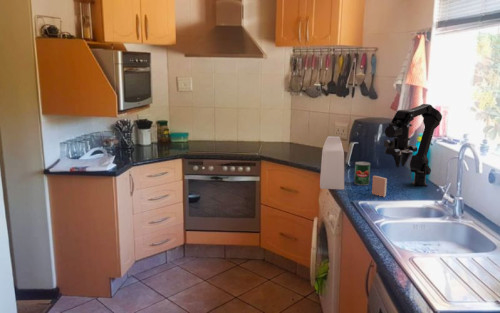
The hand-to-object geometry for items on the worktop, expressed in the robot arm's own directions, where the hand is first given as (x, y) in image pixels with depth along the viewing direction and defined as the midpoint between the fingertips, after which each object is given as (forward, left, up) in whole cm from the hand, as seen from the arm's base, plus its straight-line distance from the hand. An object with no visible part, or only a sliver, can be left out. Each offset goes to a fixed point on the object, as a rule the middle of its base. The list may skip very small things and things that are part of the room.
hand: (400, 166), depth 222 cm
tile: (+11, -11, -12) cm, 20 cm away
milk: (-3, -33, -12) cm, 35 cm away
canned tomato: (-11, -17, -12) cm, 24 cm away
